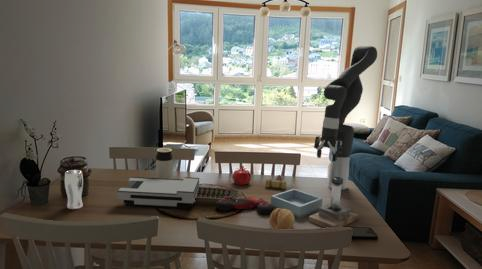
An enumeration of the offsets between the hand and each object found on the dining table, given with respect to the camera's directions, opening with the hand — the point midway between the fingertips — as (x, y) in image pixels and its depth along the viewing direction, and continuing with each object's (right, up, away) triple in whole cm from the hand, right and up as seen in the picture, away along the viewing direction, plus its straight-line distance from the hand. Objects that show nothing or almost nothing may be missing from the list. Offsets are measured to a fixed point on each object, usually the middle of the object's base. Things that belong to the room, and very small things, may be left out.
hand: (326, 159), depth 190 cm
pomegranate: (-42, -13, +12) cm, 45 cm away
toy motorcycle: (-40, -20, -19) cm, 49 cm away
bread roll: (-26, -25, -40) cm, 54 cm away
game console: (-78, -18, -16) cm, 81 cm away
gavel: (-22, -14, +16) cm, 31 cm away
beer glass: (-111, -18, -27) cm, 116 cm away
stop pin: (-3, -21, -29) cm, 36 cm away
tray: (-17, -20, -18) cm, 32 cm away
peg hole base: (-3, -23, -29) cm, 37 cm away
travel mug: (-80, -13, +5) cm, 82 cm away
